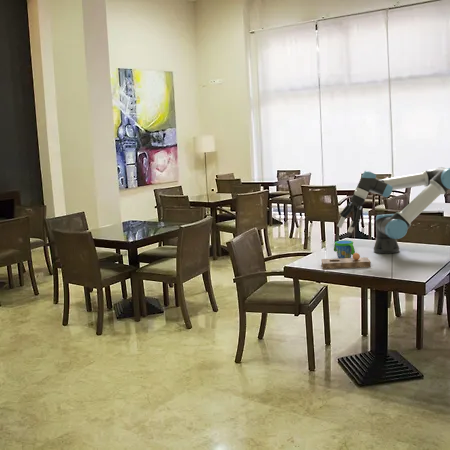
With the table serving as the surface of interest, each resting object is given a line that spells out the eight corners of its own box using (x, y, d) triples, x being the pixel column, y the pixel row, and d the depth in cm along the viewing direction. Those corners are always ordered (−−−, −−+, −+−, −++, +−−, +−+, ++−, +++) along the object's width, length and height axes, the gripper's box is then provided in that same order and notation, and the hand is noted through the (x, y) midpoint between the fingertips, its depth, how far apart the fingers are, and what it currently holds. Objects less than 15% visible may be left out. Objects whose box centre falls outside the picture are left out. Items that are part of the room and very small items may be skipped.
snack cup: (359, 259, 340) (359, 242, 339) (345, 262, 336) (344, 244, 334) (343, 255, 354) (343, 239, 353) (329, 257, 350) (328, 241, 348)
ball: (359, 259, 327) (359, 252, 326) (360, 260, 323) (360, 253, 322) (352, 259, 327) (352, 252, 327) (353, 260, 323) (352, 253, 323)
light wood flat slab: (367, 262, 331) (367, 257, 330) (370, 267, 319) (370, 261, 318) (321, 264, 334) (321, 259, 333) (322, 268, 322) (322, 263, 322)
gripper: (344, 190, 349) (329, 222, 351) (364, 197, 326) (348, 232, 328) (354, 195, 352) (339, 227, 354) (375, 202, 328) (359, 236, 330)
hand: (344, 229), depth 341 cm, fingers open, 13 cm apart
